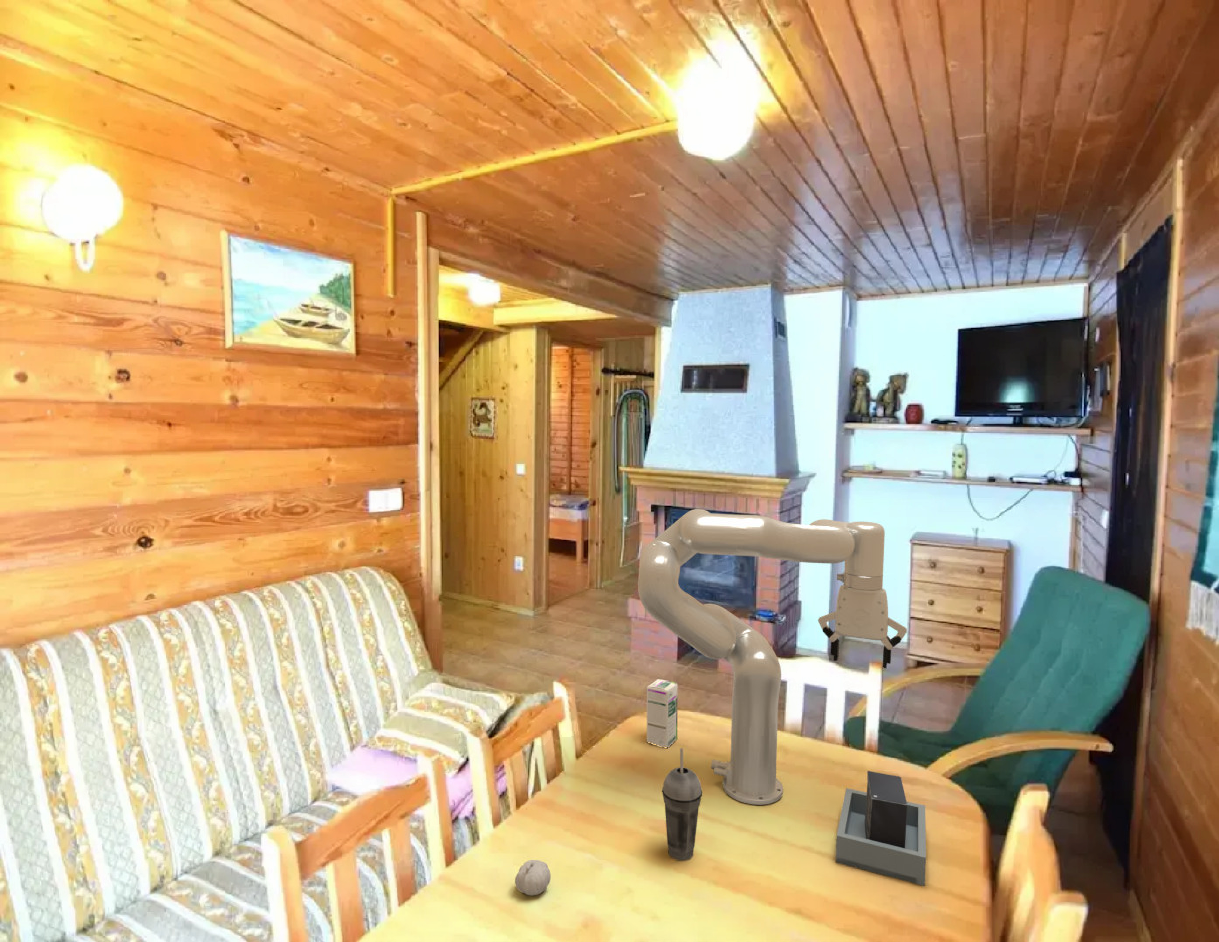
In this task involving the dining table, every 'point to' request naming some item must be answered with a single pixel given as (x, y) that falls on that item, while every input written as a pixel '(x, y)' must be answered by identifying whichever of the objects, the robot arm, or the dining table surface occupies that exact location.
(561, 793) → the dining table surface
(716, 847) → the dining table surface
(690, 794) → the beverage cup
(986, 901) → the dining table surface
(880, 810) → the small box
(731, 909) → the dining table surface
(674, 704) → the syrup box
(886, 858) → the crate
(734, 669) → the robot arm
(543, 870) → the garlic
